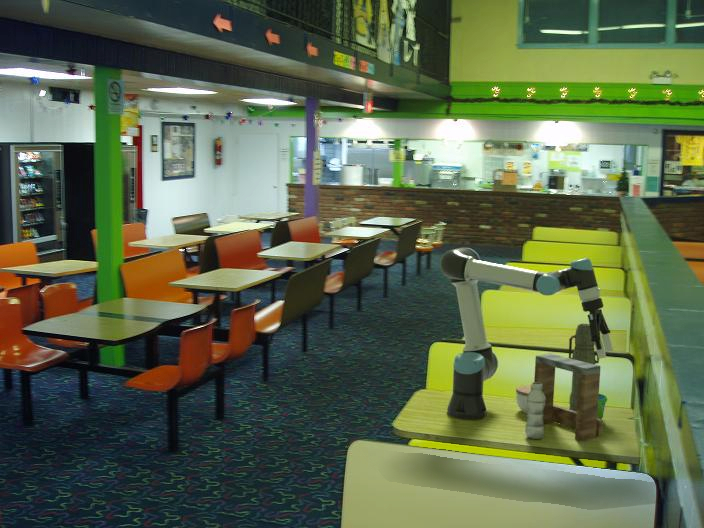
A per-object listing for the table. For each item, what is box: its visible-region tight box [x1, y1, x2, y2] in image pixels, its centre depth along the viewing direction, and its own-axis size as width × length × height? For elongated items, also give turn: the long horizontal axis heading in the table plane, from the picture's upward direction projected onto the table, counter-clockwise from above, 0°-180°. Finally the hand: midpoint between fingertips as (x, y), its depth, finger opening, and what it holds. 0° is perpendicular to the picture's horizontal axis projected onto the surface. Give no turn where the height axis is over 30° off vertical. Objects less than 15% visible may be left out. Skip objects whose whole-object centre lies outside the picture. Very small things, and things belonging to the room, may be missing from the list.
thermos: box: [568, 323, 600, 412], centre depth 323 cm, size 9×12×35 cm
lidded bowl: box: [515, 384, 532, 415], centre depth 320 cm, size 13×13×11 cm
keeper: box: [534, 353, 604, 442], centre depth 297 cm, size 23×12×26 cm, turn 36°
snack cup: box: [597, 393, 608, 420], centre depth 310 cm, size 16×10×10 cm
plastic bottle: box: [524, 382, 546, 440], centre depth 287 cm, size 6×7×20 cm
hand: (606, 354), depth 301 cm, fingers open, 13 cm apart
